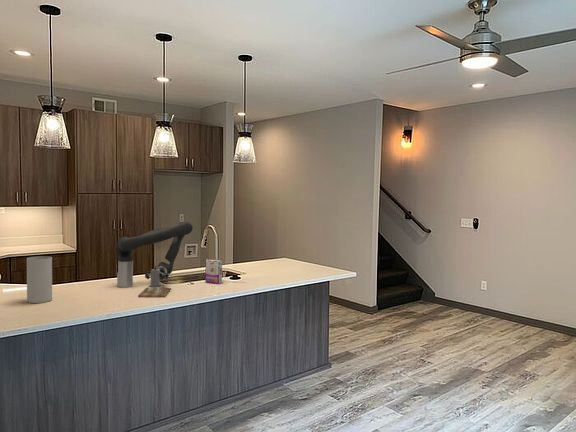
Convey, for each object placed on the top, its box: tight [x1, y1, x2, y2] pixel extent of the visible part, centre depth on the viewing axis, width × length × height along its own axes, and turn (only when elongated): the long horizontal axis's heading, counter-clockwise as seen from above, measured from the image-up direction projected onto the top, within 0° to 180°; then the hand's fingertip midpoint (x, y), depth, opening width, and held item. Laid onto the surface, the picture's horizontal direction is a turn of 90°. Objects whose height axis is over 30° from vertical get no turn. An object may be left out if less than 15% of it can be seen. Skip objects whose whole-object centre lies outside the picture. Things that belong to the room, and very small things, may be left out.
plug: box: [150, 264, 161, 287], centre depth 268 cm, size 5×5×17 cm
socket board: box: [137, 284, 172, 298], centre depth 269 cm, size 16×20×5 cm
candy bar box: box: [205, 259, 223, 285], centre depth 303 cm, size 11×5×16 cm, turn 70°
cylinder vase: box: [26, 255, 53, 304], centre depth 244 cm, size 12×12×25 cm
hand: (154, 277), depth 266 cm, fingers open, 8 cm apart
